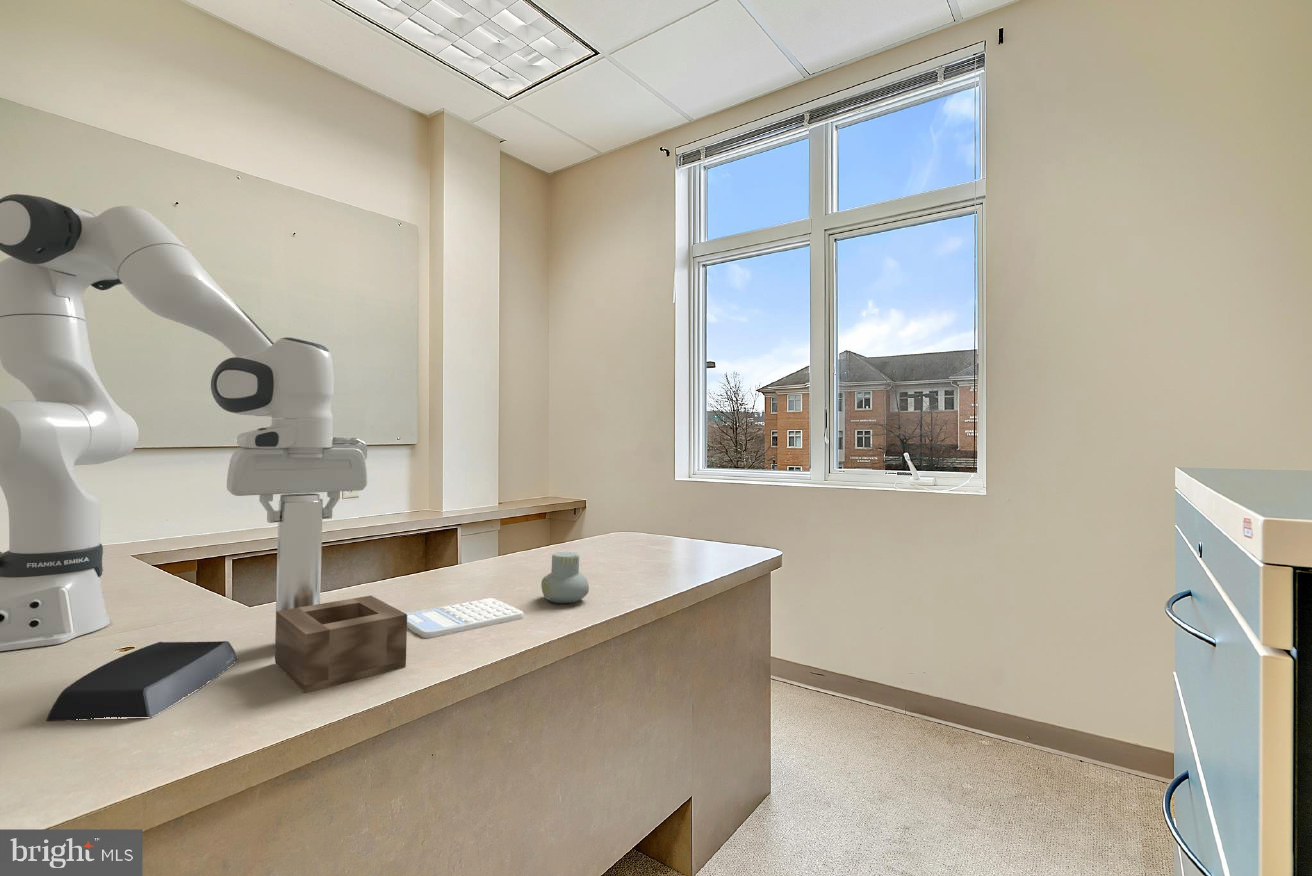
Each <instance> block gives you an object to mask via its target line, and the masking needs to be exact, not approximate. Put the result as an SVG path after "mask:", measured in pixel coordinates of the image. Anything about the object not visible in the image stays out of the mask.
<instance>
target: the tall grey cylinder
mask: <svg viewBox="0 0 1312 876" xmlns="http://www.w3.org/2000/svg"><path fill="white" fill-rule="evenodd" d="M279 495H280V496H279V497H280V500H279V501H278V511H280V522H277V553H276V554H277V555H276V556H277V557H276V559H277V561H276V587H275V588H276V592H275V593H276V594H275V600H276V602H275V612H276V611H281V610H287V609H293V608H299V607H305V606H311V605H317V604H321V585H322V584H321V583H322V581H321V580H322V578H321V575H322V540H323V519H322V512H323V508H324V505H323V504H324V503H323V502H324V500H323V498H321V497H320V495H321V494H320V493H293V494H279ZM274 631H275V634H274V637H275V638H274V648H275V647H276V625H275V630H274Z"/></svg>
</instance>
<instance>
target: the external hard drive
mask: <svg viewBox="0 0 1312 876" xmlns="http://www.w3.org/2000/svg"><path fill="white" fill-rule="evenodd" d="M237 660H238V661H239V658H238V655H237V653H236V652H235V649H234V648H233V646H232V644H231V642H229V641H228V640H227V641H226V640H222V641H219V640H218V641H158V642H155V643H152V644H150V645H146V646H143V647H141V648H139V649H136V650H134V651H130V652H129V653H126V654H124V655H122V656H120V657H118V658H115V659H113V660H111V661H109V662H107V663H105V664H103V665H101V666H99V667H97V668H96V669H93V670H92V671H90V672H88V673H87V674H85V675H84V676H82V677H80V678H79V679H77V680H75V681H74V682H72V683H71V684H70V685H68V686H67V687H66V688H63V690H62V691H61V692H60V694H59V695H58V697H57V698H56V700H55V702H54V703H53V704H52V707H51V709H50V711H49V713H48V715H47V717H46V720H45V721H46V722H59V721H60V722H61V721H62V722H66V720H74V721H80V720H79V719H91V718H92V719H94V718H104V717H105V718H106V717H110V718H111V717H117V718H118V717H120V718H121V717H152V716H154V715H156V714H158V713H159V712H161V711H163V710H165V709H166V708H168V707H169V706H171V705H173V704H174V703H176V702H178V701H179V700H181V699H182V698H183V697H186V696H188V694H191V693H192V692H194V691H195V690H197V689H199V688H200V687H202V686H203V685H205V684H206V683H207V682H208V681H210V680H212V679H213V678H215V677H216V676H218V675H219V674H221V673H222V672H223V671H225V670H226V669H227V668H228V667H230V666H231V665H232V664H233V665H235V664H234V662H236V661H237ZM238 661H237V662H238ZM237 662H236V663H237ZM233 665H232V666H233ZM232 666H231V667H232ZM231 667H230V668H231ZM227 670H228V669H227ZM227 670H226V671H227ZM226 671H225V672H226ZM222 674H223V673H222ZM222 674H221V675H222ZM218 677H219V676H218ZM215 679H216V678H215ZM205 686H206V685H205ZM165 711H166V710H165ZM158 715H159V714H158ZM156 716H157V715H156ZM154 717H155V716H154ZM152 718H153V717H152ZM76 719H78V720H76Z"/></svg>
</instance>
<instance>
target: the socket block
mask: <svg viewBox="0 0 1312 876" xmlns="http://www.w3.org/2000/svg"><path fill="white" fill-rule="evenodd" d="M275 626H276V647H275V646H274V648H275V650H274V651H275V652H274V653H275V655H274V659H275V660H274V664H275V663H276V664H277V665H278V666H279V667H280V668H281V669H282V670H283V671H284V672H285V673H286V674H287V675H286V674H285V673H284V672H283V671H282V670H281V669H280V668H279V667H278V666H277V665H276V664H275V665H276V666H277V667H278V668H279V669H280V670H281V671H282V672H283V673H284V674H285V675H286V677H288V676H289V677H288V678H289V679H290V678H291V679H290V680H291V681H292V680H293V681H294V682H293V681H292V682H293V683H294V684H295V683H296V684H295V685H296V686H297V685H298V686H297V688H299V689H300V690H301V691H302V692H303V693H309V692H313V691H316V690H320V689H324V688H328V687H331V686H335V685H339V684H343V683H347V682H351V681H356V680H359V679H363V678H366V677H370V676H375V675H379V674H383V673H386V672H389V671H394V670H398V669H401V668H405V667H407V642H408V641H407V640H408V639H407V636H408V633H407V631H408V627H407V614H406V613H405V612H404V611H401V610H400V609H398V608H396V607H394V606H392V605H390V604H388V603H386V602H384V601H382V600H381V599H379V598H377V597H375V596H374V595H367V596H359V597H354V598H348V599H341V600H335V601H330V602H324V603H323V602H322V603H320V604H317V605H311V606H305V607H299V608H293V609H287V610H281V611H276V610H275ZM312 690H313V691H312Z"/></svg>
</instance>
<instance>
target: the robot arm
mask: <svg viewBox="0 0 1312 876" xmlns="http://www.w3.org/2000/svg"><path fill="white" fill-rule="evenodd" d="M0 251H1V252H2V253H4V254H6V255H7V256H9V257H7V258H5V259H3V260H1V261H0V364H1V366H2V368H3V369H4V370H5V371H6V373H8V374H9V375H10V376H12V377H14V378H15V379H17V380H19V381H20V382H21V383H22V384H23V385H24V386H25V387H26V388H27V389H28V390H29V391H30V393H31V394H32V396H33V397H34V399H35V400H21V399H20V400H10V401H2V402H1V401H0V488H1V490H2V492H3V494H4V498H5V500H6V504H7V510H8V528H9V529H8V531H9V532H8V539H9V540H8V541H9V542H8V548H9V549H8V550H6V551H4V552H3V551H0V652H3V651H5V652H6V651H11V650H13V651H15V650H20V649H28V648H35V647H45V646H53V645H59V644H62V643H65V642H68V641H70V640H72V639H74V638H76V637H80V636H83V635H85V634H86V635H87V634H89V633H92V632H96V631H98V630H101V629H103V628H105V627H107V626H108V625H109V624H110V623H111V619H110V615H109V613H108V611H107V608H106V604H105V599H104V595H103V589H102V582H101V576H102V575H103V572H104V566H105V565H104V564H105V561H104V559H105V555H104V553H105V551H104V546H103V544H102V543H101V502H100V499H99V498H98V497H97V496H96V495H94V494H93V493H92V492H89V491H88V490H85V489H84V488H83V486H82V485H81V484H80V482H79V479H78V477H77V475H76V472H75V471H76V470H75V466H90V465H100V464H104V463H108V462H110V461H111V462H112V461H115V460H118V459H120V458H121V459H122V458H124V457H126V456H129V454H130V453H132V452H133V451H134V449H135V448H136V446H137V444H138V441H139V435H140V433H139V427H138V425H137V423H136V421H135V419H134V417H132V416H131V414H129V413H128V412H126V411H125V410H123V409H122V408H121V407H120V406H119V405H118V404H117V403H116V402H115V401H114V400H113V398H112V397H111V395H110V394H109V393H108V391H107V389H106V388H105V385H104V384H103V382H102V380H101V379H100V377H99V374H98V372H97V369H96V368H95V364H94V359H93V355H92V350H91V345H90V339H89V332H88V326H87V320H86V314H85V309H84V301H83V297H84V293H85V291H86V290H87V289H88V288H89V287H90V286H91V287H93V288H94V289H97V290H99V291H108V290H109V289H112V288H113V287H115V286H118V285H119V286H120V285H123V286H124V288H125V289H126V290H127V291H128V292H129V294H130V295H131V296H132V297H133V298H134V299H136V300H137V302H139V303H140V304H141V305H143V306H144V307H145V308H146V309H148V310H149V311H151V313H154V314H155V315H157V316H160V317H162V318H164V319H167V320H169V321H172V322H176V323H179V324H181V325H184V326H187V327H189V328H192V329H194V330H197V331H199V332H202V333H204V334H206V335H208V336H210V337H211V338H214V339H215V340H217V341H218V342H220V343H221V344H222V345H223V346H224V347H226V348H227V349H228V350H229V351H230V352H231V353H232V354H233V355H234V356H233V357H229V358H226V359H224V360H223V361H222V362H220V363H219V364H218V365H217V367H216V368H215V369H214V371H213V372H212V376H211V379H210V391H211V394H212V396H213V399H214V401H215V402H216V404H217V405H218V406H219V407H220V408H221V409H223V410H224V411H226V412H229V413H233V414H236V415H241V416H255V417H268V418H270V417H271V424H270V425H269V426H266V427H259V428H256V429H253V430H250V431H246V432H242V433H239V434H237V437H236V444H237V445H238V447H240V448H237V449H236V450H235V451H234V452H233V454H232V455H231V458H230V460H229V465H228V469H227V474H226V475H227V478H226V489H227V491H228V492H229V493H230V494H232V495H233V496H234V497H235V496H236V497H239V496H240V497H243V496H244V497H247V496H258V497H259V499H258V501H259V502H260V503H261V505H262V507H263V509H265V511H266V522H267V523H269V524H273V523H274V524H275V523H278V522H280V511H279V509H278V510H275V509H274V508H273V506H272V505H271V503H270V502H273V501H274V495H283V494H293V493H314V494H317V493H326V497H327V498H329V499H328V501H327V503H326V504H325V506H323V512H322V520H328V519H332V518H333V509H334V507H335V506H336V505H337V503H338V501H340V499H341V492H354V491H355V492H357V491H359V492H360V491H364V489H365V488H366V487H367V485H368V470H367V462H366V460H367V458H368V446H367V444H366V442H364V441H363V440H360V438H358V437H349V438H346V437H345V438H344V437H336V436H335V437H334V436H333V435H334V416H333V412H332V401H333V398H334V394H335V374H334V373H335V372H334V370H335V369H334V361H333V357H332V354H331V351H330V350H329V349H328V348H327V347H326V346H324V345H322V344H320V343H316V342H312V341H308V340H303V339H300V338H294V337H287V336H286V337H281V338H278V339H277V340H276V341H275V342H273V340H272V339H271V338H270V337H269V336H268V335H267V334H266V333H265V332H264V330H262V329H261V328H260V327H259V325H257V323H256V322H255V321H254V320H253V319H252V318H251V317H250V316H249V315H248V314H247V313H246V312H245V311H244V310H243V309H242V308H241V307H240V306H239V305H238V304H237V303H236V302H235V301H234V300H233V299H232V298H231V297H230V296H229V295H228V294H227V293H226V292H225V291H224V290H223V289H222V288H221V286H219V284H218V283H217V282H216V281H215V280H214V279H213V277H212V276H211V275H210V274H209V273H208V271H207V270H206V269H205V268H204V267H203V266H202V265H201V263H200V262H199V261H198V259H196V257H195V256H194V255H193V254H192V253H191V251H190V250H189V249H188V248H187V246H185V244H184V243H183V242H182V240H180V239H179V237H177V235H176V234H175V233H174V232H173V231H171V230H170V229H169V227H167V226H166V225H165V224H164V223H163V222H162V221H161V220H159V219H158V218H157V217H156V216H154V215H153V214H152V213H150V212H149V211H148V210H145V209H143V208H140V207H137V206H131V205H120V206H113V207H110V208H108V209H106V210H104V211H103V212H101V213H100V214H96V213H93V212H91V211H88V210H86V209H82V208H81V209H80V208H77V207H74V206H70V205H66V204H63V203H58V202H57V201H54V200H51V199H50V198H46V197H42V196H36V195H30V194H20V193H15V194H14V193H13V194H9V195H5V196H3V197H1V198H0Z"/></svg>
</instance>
